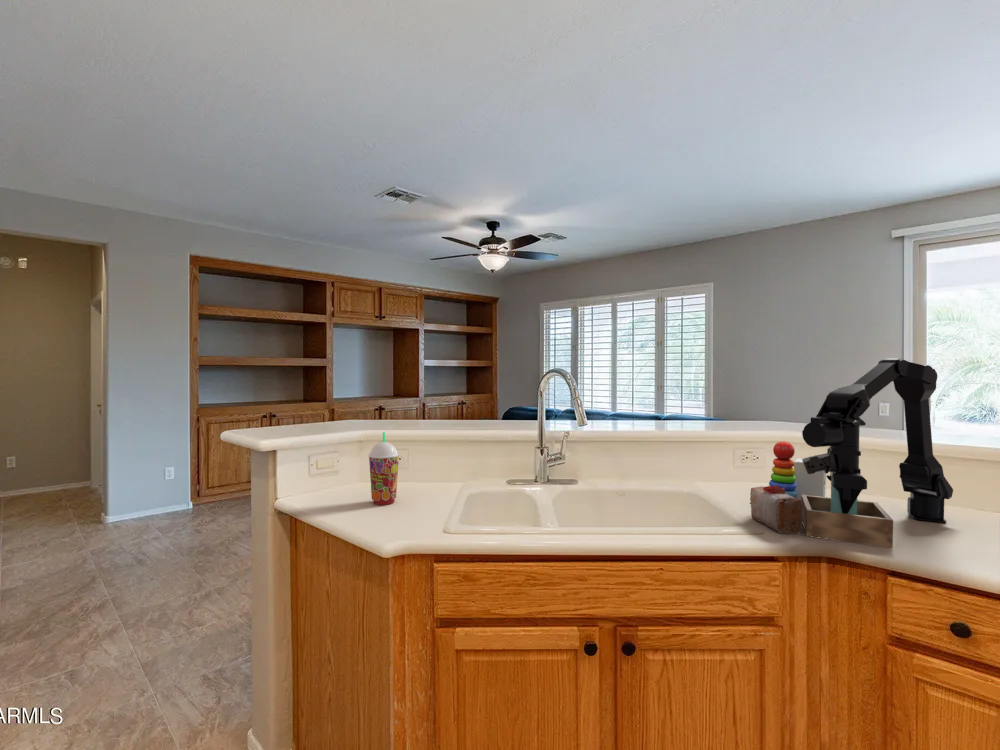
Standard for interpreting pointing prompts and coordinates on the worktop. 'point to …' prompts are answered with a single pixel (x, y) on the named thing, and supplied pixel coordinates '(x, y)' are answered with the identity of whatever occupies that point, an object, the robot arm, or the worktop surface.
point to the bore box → (847, 522)
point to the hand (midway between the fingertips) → (843, 510)
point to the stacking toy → (784, 468)
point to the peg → (836, 502)
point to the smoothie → (383, 472)
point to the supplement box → (809, 481)
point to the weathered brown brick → (776, 509)
